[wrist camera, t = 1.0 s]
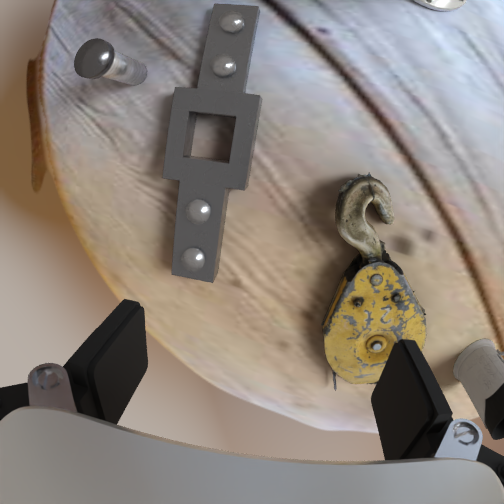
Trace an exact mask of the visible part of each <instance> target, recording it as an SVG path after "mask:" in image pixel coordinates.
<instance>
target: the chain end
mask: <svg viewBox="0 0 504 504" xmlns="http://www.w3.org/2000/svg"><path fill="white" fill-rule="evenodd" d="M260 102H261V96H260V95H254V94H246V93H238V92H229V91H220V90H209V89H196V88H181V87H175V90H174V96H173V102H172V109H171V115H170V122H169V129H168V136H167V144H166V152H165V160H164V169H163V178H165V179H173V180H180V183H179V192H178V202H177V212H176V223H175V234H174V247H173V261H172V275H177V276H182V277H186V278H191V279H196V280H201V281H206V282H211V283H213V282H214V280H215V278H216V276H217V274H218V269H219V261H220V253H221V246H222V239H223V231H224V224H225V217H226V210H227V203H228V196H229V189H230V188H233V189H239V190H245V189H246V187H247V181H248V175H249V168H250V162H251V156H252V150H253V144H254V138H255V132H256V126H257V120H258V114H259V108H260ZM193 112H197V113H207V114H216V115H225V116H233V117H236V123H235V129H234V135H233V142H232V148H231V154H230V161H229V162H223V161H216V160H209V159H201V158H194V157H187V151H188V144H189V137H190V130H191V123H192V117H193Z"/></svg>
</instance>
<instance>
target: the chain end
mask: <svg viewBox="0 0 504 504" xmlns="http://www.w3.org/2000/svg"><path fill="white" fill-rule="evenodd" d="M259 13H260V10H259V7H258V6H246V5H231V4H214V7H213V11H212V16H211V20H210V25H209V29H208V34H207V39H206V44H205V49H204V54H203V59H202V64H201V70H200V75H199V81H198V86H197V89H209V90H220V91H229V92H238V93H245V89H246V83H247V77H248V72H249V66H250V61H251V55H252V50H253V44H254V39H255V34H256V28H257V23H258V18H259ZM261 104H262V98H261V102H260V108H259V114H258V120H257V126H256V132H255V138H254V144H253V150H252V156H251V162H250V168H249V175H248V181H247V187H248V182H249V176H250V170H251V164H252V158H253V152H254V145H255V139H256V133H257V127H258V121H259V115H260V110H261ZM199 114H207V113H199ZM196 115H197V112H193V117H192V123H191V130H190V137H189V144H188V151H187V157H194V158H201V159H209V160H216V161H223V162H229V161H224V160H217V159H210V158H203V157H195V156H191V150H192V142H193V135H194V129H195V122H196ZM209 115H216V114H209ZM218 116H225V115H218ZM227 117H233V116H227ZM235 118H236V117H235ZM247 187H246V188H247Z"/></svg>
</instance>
